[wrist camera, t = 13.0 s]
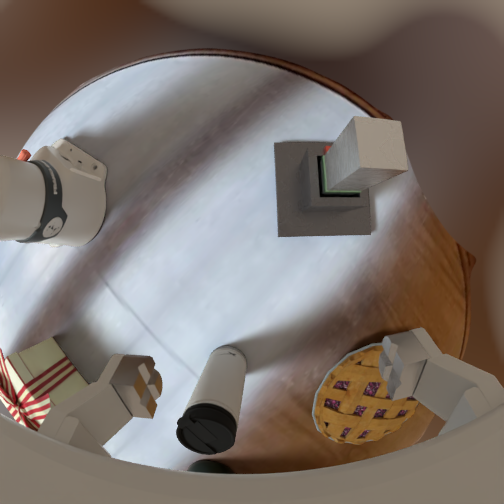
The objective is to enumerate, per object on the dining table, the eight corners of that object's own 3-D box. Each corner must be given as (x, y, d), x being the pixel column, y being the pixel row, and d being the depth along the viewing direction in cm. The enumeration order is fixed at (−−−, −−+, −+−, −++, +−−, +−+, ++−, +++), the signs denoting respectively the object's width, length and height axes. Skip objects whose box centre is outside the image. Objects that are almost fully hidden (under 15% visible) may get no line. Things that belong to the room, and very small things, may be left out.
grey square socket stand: (278, 236, 41) (282, 237, 31) (273, 145, 41) (276, 118, 30) (367, 234, 41) (397, 235, 30) (360, 147, 40) (387, 123, 29)
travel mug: (230, 336, 43) (204, 408, 23) (254, 367, 43) (247, 449, 23) (200, 355, 43) (160, 429, 23) (224, 384, 43) (201, 466, 23)
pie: (392, 433, 43) (401, 446, 38) (295, 430, 44) (297, 447, 39) (435, 340, 41) (448, 350, 36) (331, 326, 42) (338, 337, 37)
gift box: (103, 381, 45) (55, 425, 28) (72, 415, 46) (33, 453, 29) (49, 318, 45) (-9, 342, 28) (27, 362, 46) (-19, 387, 29)
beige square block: (316, 198, 35) (359, 168, 18) (314, 166, 35) (352, 113, 18) (346, 198, 35) (409, 171, 18) (344, 167, 35) (401, 119, 17)
